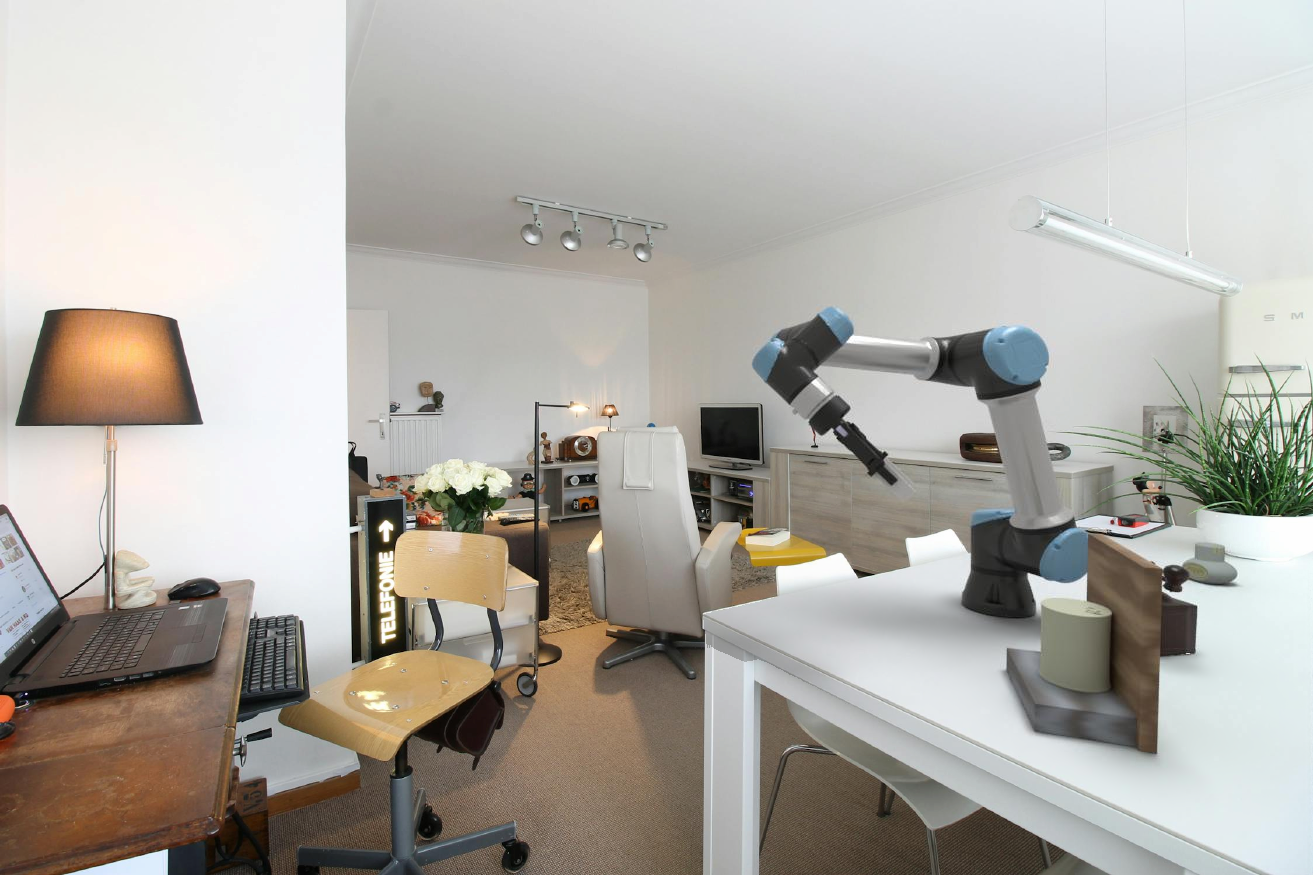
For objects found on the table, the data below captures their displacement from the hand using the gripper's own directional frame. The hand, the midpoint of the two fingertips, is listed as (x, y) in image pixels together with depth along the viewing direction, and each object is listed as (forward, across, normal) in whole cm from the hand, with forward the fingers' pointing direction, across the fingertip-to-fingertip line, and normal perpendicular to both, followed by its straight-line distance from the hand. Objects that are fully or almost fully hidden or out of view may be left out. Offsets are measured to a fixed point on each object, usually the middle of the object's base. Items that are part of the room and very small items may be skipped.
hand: (908, 492), depth 107 cm
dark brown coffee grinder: (+55, -25, +10) cm, 61 cm away
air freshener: (+77, -86, +32) cm, 120 cm away
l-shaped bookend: (+39, +6, -6) cm, 40 cm away
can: (+37, +6, -3) cm, 37 cm away
